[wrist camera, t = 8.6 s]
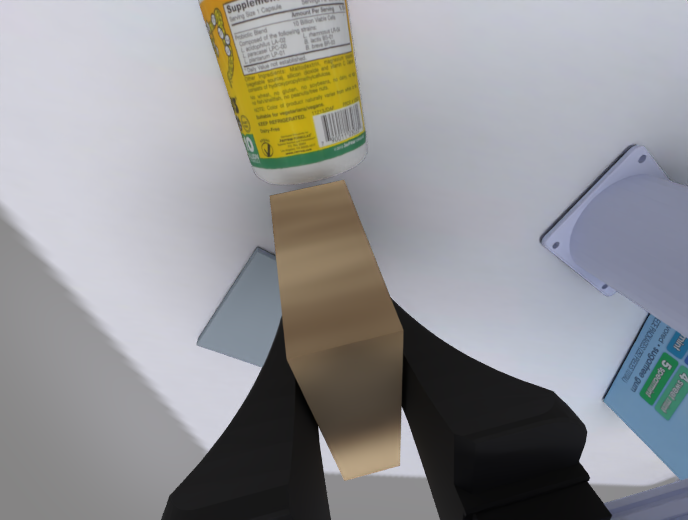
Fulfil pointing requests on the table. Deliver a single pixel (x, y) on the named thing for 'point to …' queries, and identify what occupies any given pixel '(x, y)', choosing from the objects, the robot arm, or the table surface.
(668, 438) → the gum box
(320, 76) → the supplement bottle
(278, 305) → the grey rectangular plate
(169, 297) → the table surface
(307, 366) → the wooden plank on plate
